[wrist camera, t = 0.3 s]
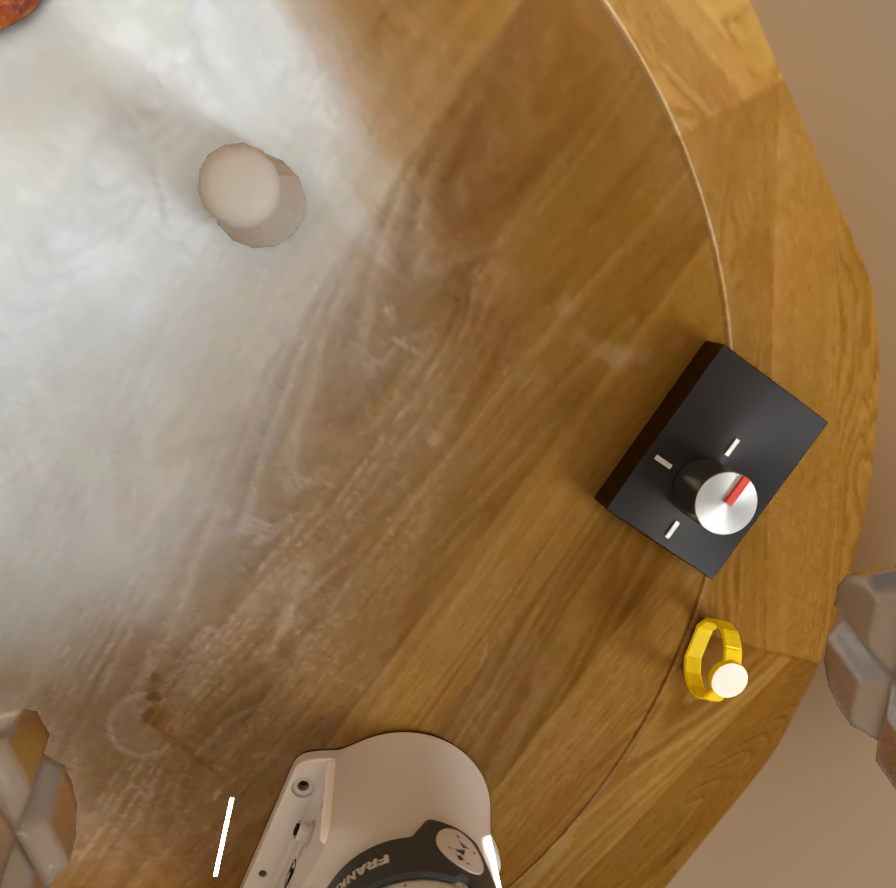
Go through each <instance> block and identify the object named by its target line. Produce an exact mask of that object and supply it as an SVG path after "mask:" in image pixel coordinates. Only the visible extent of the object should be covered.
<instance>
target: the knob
mask: <svg viewBox="0 0 896 888" xmlns="http://www.w3.org/2000/svg"><path fill="white" fill-rule="evenodd" d="M672 492H673V499H674V502H675V504H676V506H677V507H678V509H679V510H680V511H681V512H682V513H683V514H685V515H686V516H688V517H689V518H690V519H692V520H693V521H695V522H696V523H697V524H699V525H700V526H701V527H703V528H704V529H706V530H707V531H709V532H711V533H713V534H717V535H727V534H732V533H735V532H737V531H739V530H741V529H742V528H744V527H745V526H746V525H747V524H748V523H749V522H750V520H751V519H752V517H753V516H754V514H755V511H756V507H757V493H756V490H755V487H754V485H753V484H752V482H751V481H750V480H749V479H748V478H747V477H746V476H744V475H742V474H740V473H738V472H736V471H735V470H733V469H731V468H729V467H727V466H725V465H723V464H721V463H719V462H717V461H715V460H711V459H698V460H695V461H692V462H690V463H688V464H687V465H686V466H684V467H683V468H682V469H681V470H680V471H679V473H678V474H677V476H676V478H675V480H674V483H673V490H672Z"/></svg>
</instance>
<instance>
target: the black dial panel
mask: <svg viewBox="0 0 896 888" xmlns="http://www.w3.org/2000/svg"><path fill="white" fill-rule="evenodd" d="M827 423H828V422H827V421H826V420H824V419H823V418H822V417H820V416H819V415H818V414H816V413H815V412H814V411H812V410H811V409H810V408H808V407H807V406H806V405H804V404H803V403H802V402H800V401H799V400H798V399H796V398H795V397H794V396H792V395H791V394H790V393H788V392H787V391H786V390H784V389H783V388H782V387H780V386H779V385H778V384H776V383H775V382H774V381H772V380H771V379H770V378H768V377H767V376H766V375H764V374H763V373H762V372H760V371H759V370H758V369H756V368H755V367H753V366H752V365H751V364H749V363H748V362H747V361H745V360H744V359H743V358H741V357H740V356H739V355H737V354H736V353H735V352H733V351H732V350H731V349H729V348H728V347H727V346H725V345H724V344H719V343H714V342H709V341H706V342H705V343H704V344H703V346H702V347H701V349H700V350H699V351H698V353H697V354H696V356H695V357H694V359H693V360H692V361H691V363H690V364H689V366H688V367H687V368H686V370H685V371H684V373H683V374H682V375H681V377H680V378H679V380H678V381H677V382H676V384H675V385H674V387H673V388H672V389H671V391H670V392H669V394H668V395H667V396H666V398H665V399H664V401H663V402H662V404H661V405H660V406H659V408H658V409H657V411H656V412H655V413H654V415H653V416H652V418H651V419H650V420H649V422H648V423H647V425H646V426H645V427H644V429H643V430H642V432H641V433H640V434H639V436H638V437H637V439H636V440H635V441H634V443H633V444H632V446H631V447H630V449H629V450H628V451H627V453H626V454H625V456H624V457H623V458H622V460H621V461H620V463H619V464H618V465H617V467H616V468H615V470H614V471H613V472H612V474H611V475H610V477H609V478H608V479H607V481H606V482H605V484H604V485H603V486H602V488H601V489H600V491H599V492H598V494H597V495H596V496H595V499H596V500H597V501H598V502H599V503H600V504H601V505H603V506H604V507H605V508H606V509H607V510H609V511H610V512H612V513H613V514H615V515H616V516H618V517H619V518H621V519H622V520H624V521H625V522H627V523H628V524H630V525H631V526H633V527H634V528H636V529H637V530H639V531H640V532H642V533H643V534H645V535H646V536H648V537H649V538H651V539H652V540H654V541H655V542H657V543H658V544H660V545H661V546H663V547H664V548H666V549H667V550H669V551H670V552H672V553H673V554H675V555H676V556H678V557H679V558H681V559H682V560H684V561H685V562H687V563H688V564H690V565H691V566H693V567H694V568H696V569H697V570H699V571H700V572H702V573H703V574H705V575H706V576H708V577H709V578H711V579H713V578H714V577H715V575H716V574H717V572H718V571H719V570H720V568H721V567H722V566H723V564H724V563H725V562H726V560H727V559H728V558H729V556H730V555H731V553H732V552H733V551H734V549H735V548H736V547H737V545H738V544H739V543H740V541H741V540H742V539H743V537H744V536H745V534H746V533H747V532H748V530H749V529H750V528H751V526H752V525H753V524H754V522H755V521H756V520H757V518H758V517H759V515H760V514H761V513H762V511H763V510H764V509H765V507H766V506H767V505H768V503H769V502H770V501H771V499H772V498H773V496H774V495H775V494H776V492H777V491H778V490H779V488H780V487H781V486H782V484H783V483H784V482H785V480H786V479H787V477H788V476H789V475H790V473H791V472H792V471H793V469H794V468H795V467H796V465H797V464H798V463H799V461H800V460H801V458H802V457H803V456H804V454H805V453H806V452H807V450H808V449H809V448H810V446H811V445H812V444H813V442H814V441H815V439H816V438H817V437H818V435H819V434H820V433H821V431H822V430H823V429H824V427H825V426H826V425H827ZM698 459H711V460H715V461H717V462H719V463H721V464H723V465H725V466H727V467H729V468H731V469H733V470H735V471H736V472H738V473H740V474H742V475H744V476H746V477H747V478H748V479H749V480H750V481H751V482H752V484H753V485H754V487H755V490H756V493H757V507H756V511H755V514H754V516H753V517H752V519H751V520H750V522H749V523H748V524H747V525H746V526H745V527H744V528H742V529H741V530H739V531H737V532H735V533H732V534H727V535H717V534H713V533H711V532H709V531H707V530H706V529H704V528H703V527H701V526H700V525H699V524H697V523H696V522H695V521H693V520H692V519H690V518H689V517H688V516H686V515H685V514H683V513H682V512H681V511H680V510H679V509H678V507H677V506H676V504H675V502H674V499H673V492H672V490H673V483H674V480H675V478H676V476H677V474H678V473H679V471H680V470H681V469H682V468H683V467H684V466H686V465H687V464H688V463H690V462H692V461H695V460H698Z"/></svg>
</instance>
